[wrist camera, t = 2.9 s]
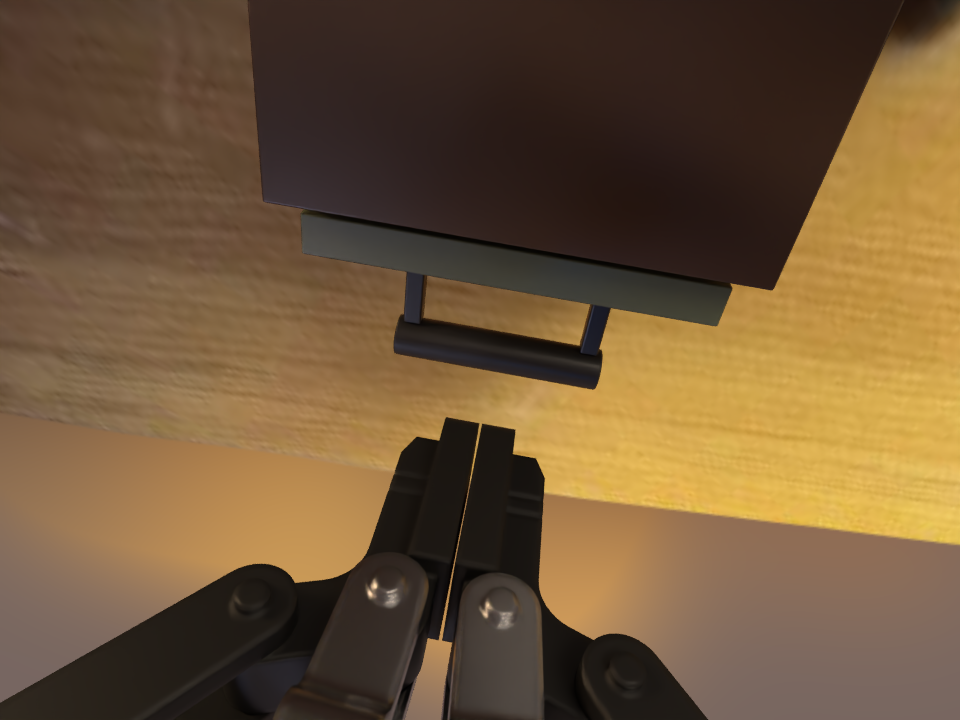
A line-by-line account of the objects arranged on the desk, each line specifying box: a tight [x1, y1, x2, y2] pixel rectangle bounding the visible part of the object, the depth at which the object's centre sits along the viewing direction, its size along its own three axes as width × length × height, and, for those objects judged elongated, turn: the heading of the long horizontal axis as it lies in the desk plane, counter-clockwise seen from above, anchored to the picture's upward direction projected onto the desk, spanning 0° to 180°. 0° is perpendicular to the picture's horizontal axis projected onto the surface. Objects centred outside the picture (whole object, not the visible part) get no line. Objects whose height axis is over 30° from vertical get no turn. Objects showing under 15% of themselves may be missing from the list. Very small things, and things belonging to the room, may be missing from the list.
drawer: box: [301, 209, 732, 390], centre depth 18 cm, size 18×11×8 cm, turn 172°
